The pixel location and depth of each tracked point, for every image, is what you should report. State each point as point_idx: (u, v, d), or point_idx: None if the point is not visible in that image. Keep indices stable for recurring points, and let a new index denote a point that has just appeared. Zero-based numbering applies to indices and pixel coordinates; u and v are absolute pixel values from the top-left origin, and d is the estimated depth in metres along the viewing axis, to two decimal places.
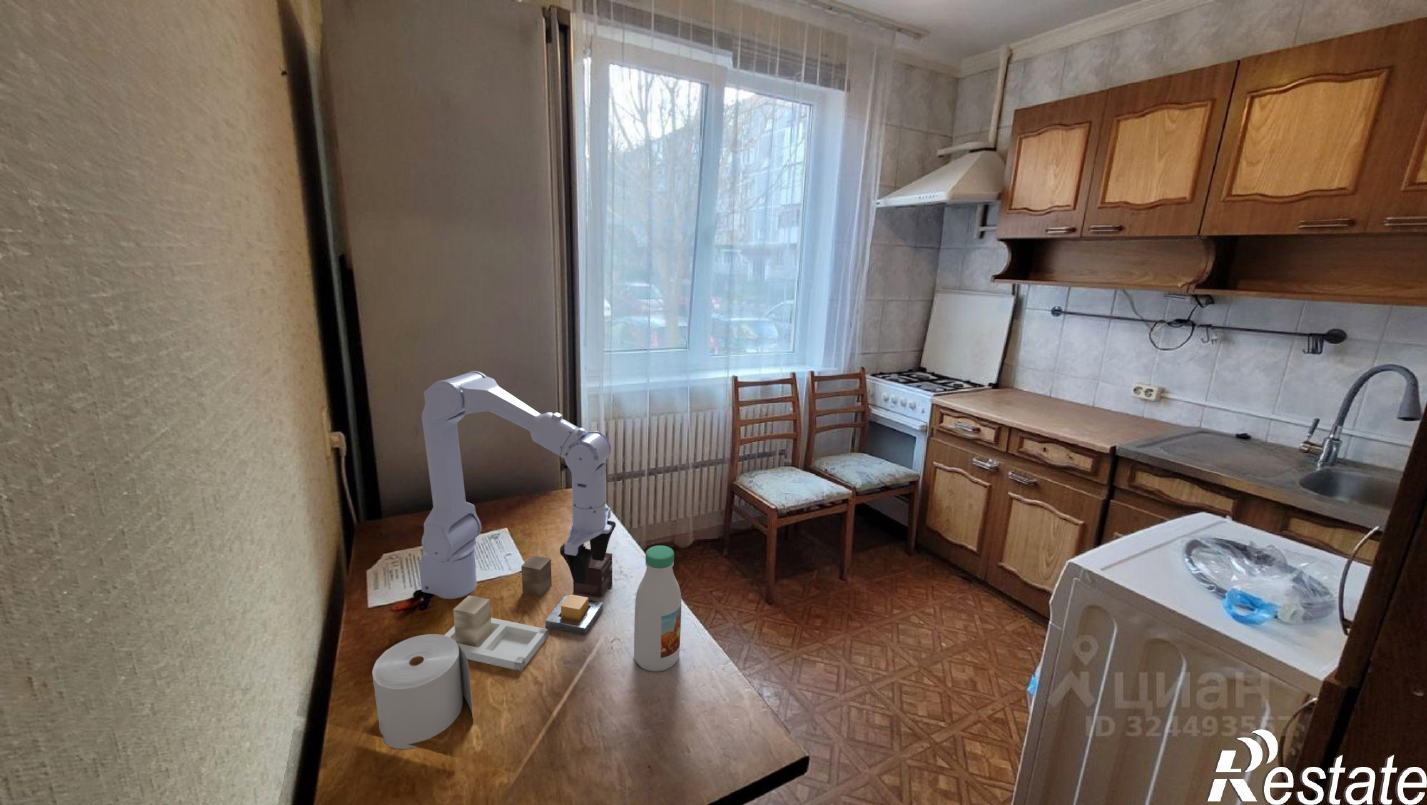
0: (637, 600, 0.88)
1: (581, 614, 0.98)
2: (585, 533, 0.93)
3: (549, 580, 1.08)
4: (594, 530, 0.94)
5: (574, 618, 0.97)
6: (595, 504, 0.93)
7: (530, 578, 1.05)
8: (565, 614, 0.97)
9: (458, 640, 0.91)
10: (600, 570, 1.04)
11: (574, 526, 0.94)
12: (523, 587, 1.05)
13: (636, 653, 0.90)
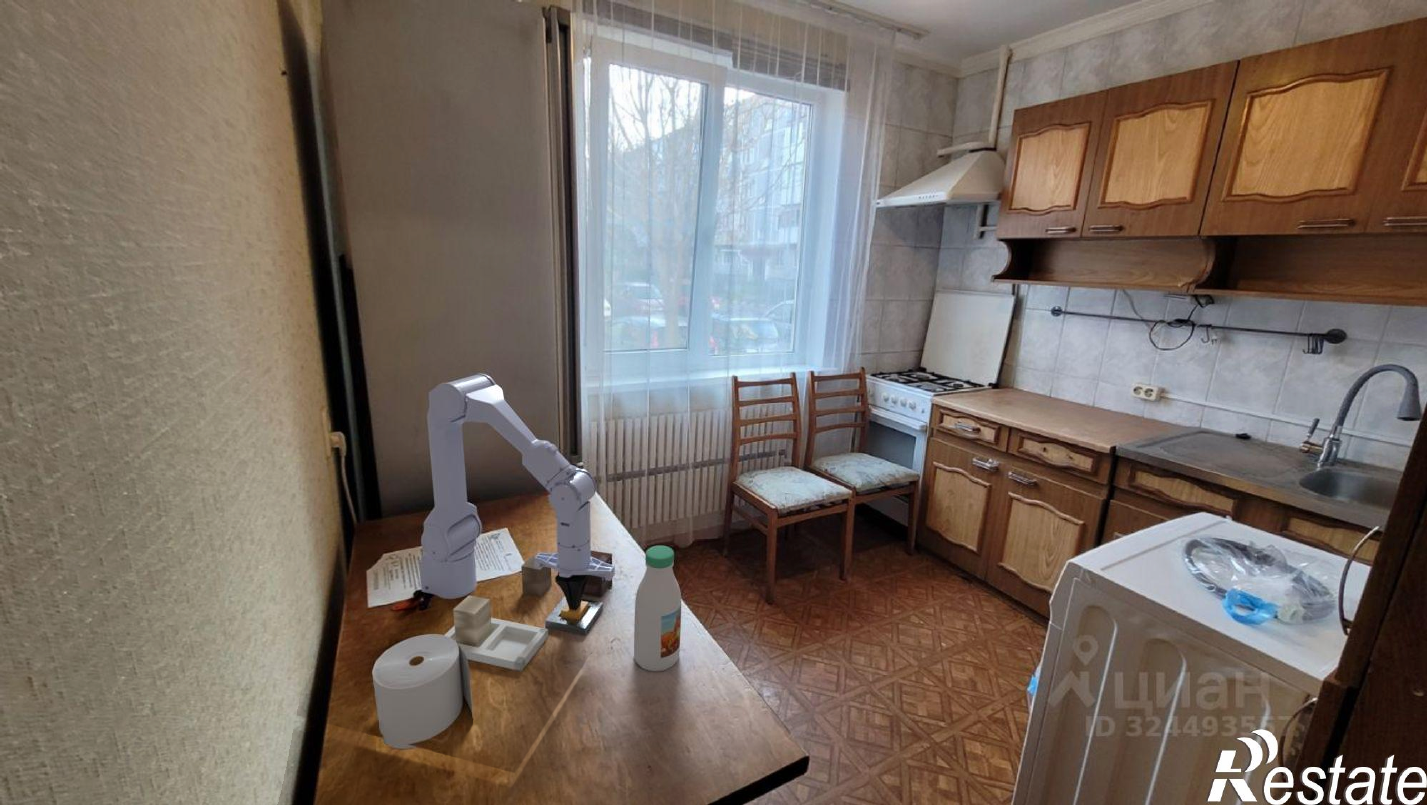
0: (637, 600, 0.88)
1: (581, 619, 0.98)
2: (557, 561, 0.96)
3: (549, 580, 1.08)
4: (558, 564, 0.95)
5: None
6: (578, 543, 0.93)
7: (530, 578, 1.05)
8: None
9: (458, 640, 0.91)
10: None
11: None
12: (523, 587, 1.05)
13: (636, 653, 0.90)
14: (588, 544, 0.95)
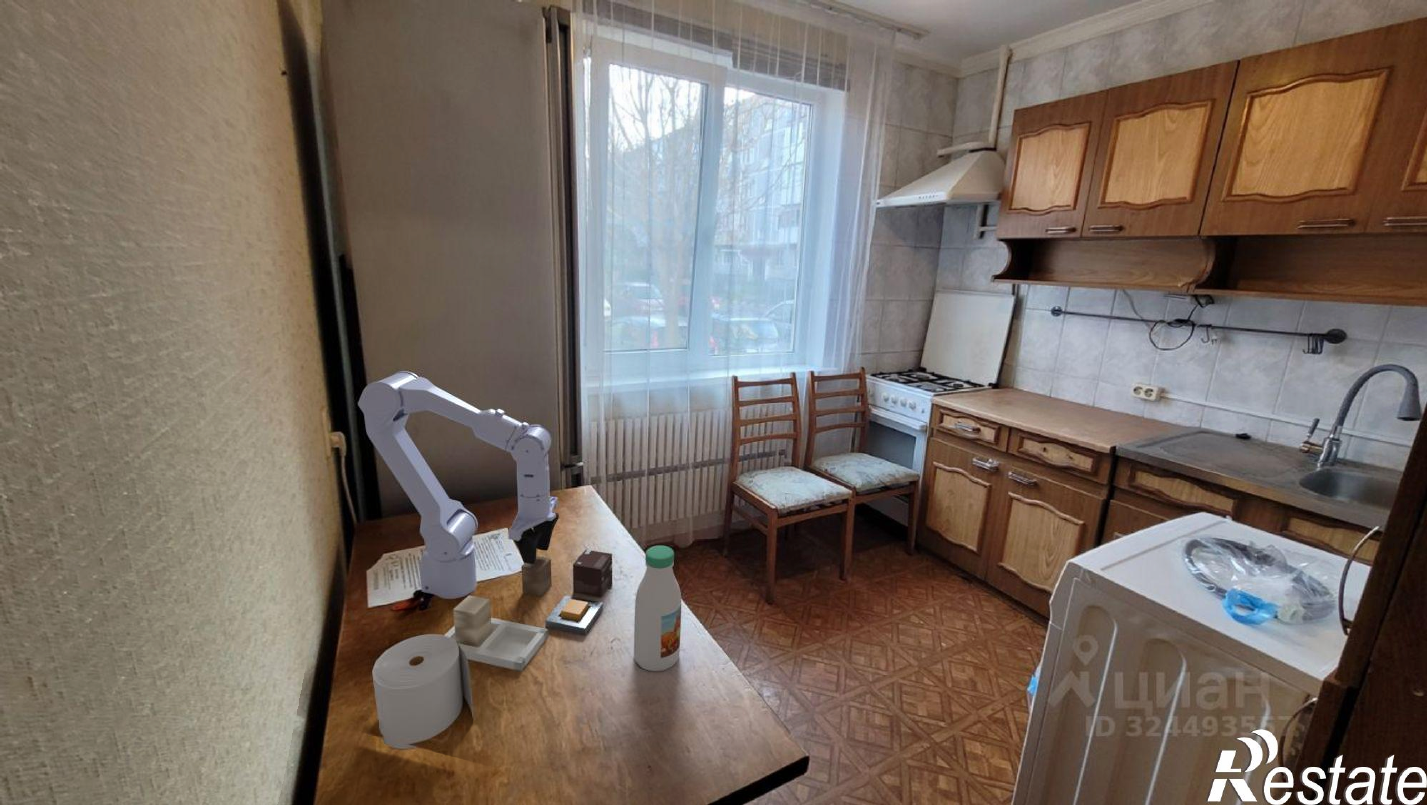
0: (637, 600, 0.88)
1: (581, 619, 0.98)
2: (529, 520, 1.00)
3: (549, 580, 1.08)
4: (538, 517, 1.01)
5: None
6: (542, 492, 1.00)
7: (530, 578, 1.05)
8: None
9: (458, 640, 0.91)
10: (600, 570, 1.04)
11: (519, 514, 1.01)
12: (523, 587, 1.05)
13: (636, 653, 0.90)
14: None
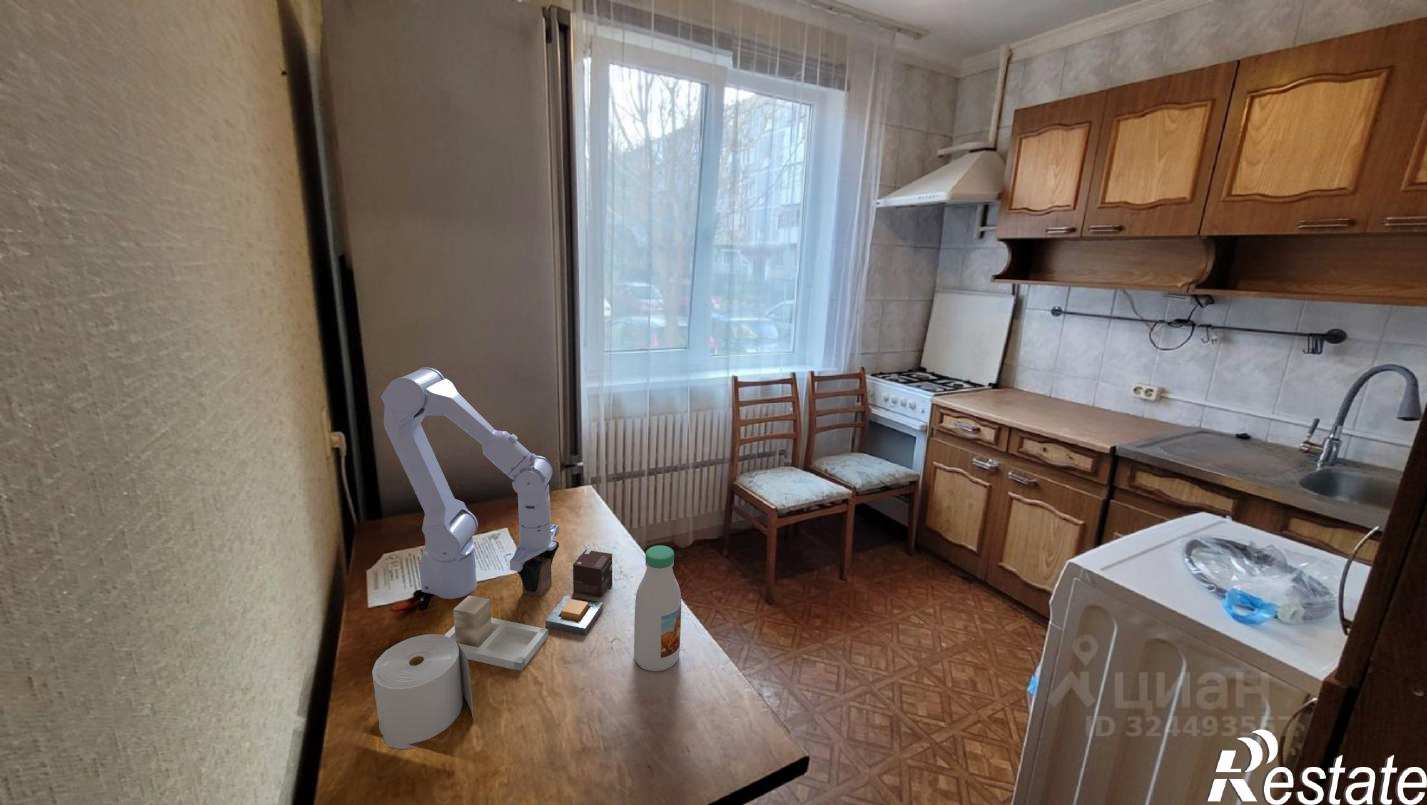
0: (637, 600, 0.88)
1: (581, 619, 0.98)
2: (530, 550, 1.02)
3: (549, 580, 1.08)
4: (539, 547, 1.02)
5: None
6: (543, 522, 1.02)
7: None
8: None
9: (458, 640, 0.91)
10: (600, 570, 1.04)
11: (521, 544, 1.03)
12: (523, 587, 1.05)
13: (636, 653, 0.90)
14: None
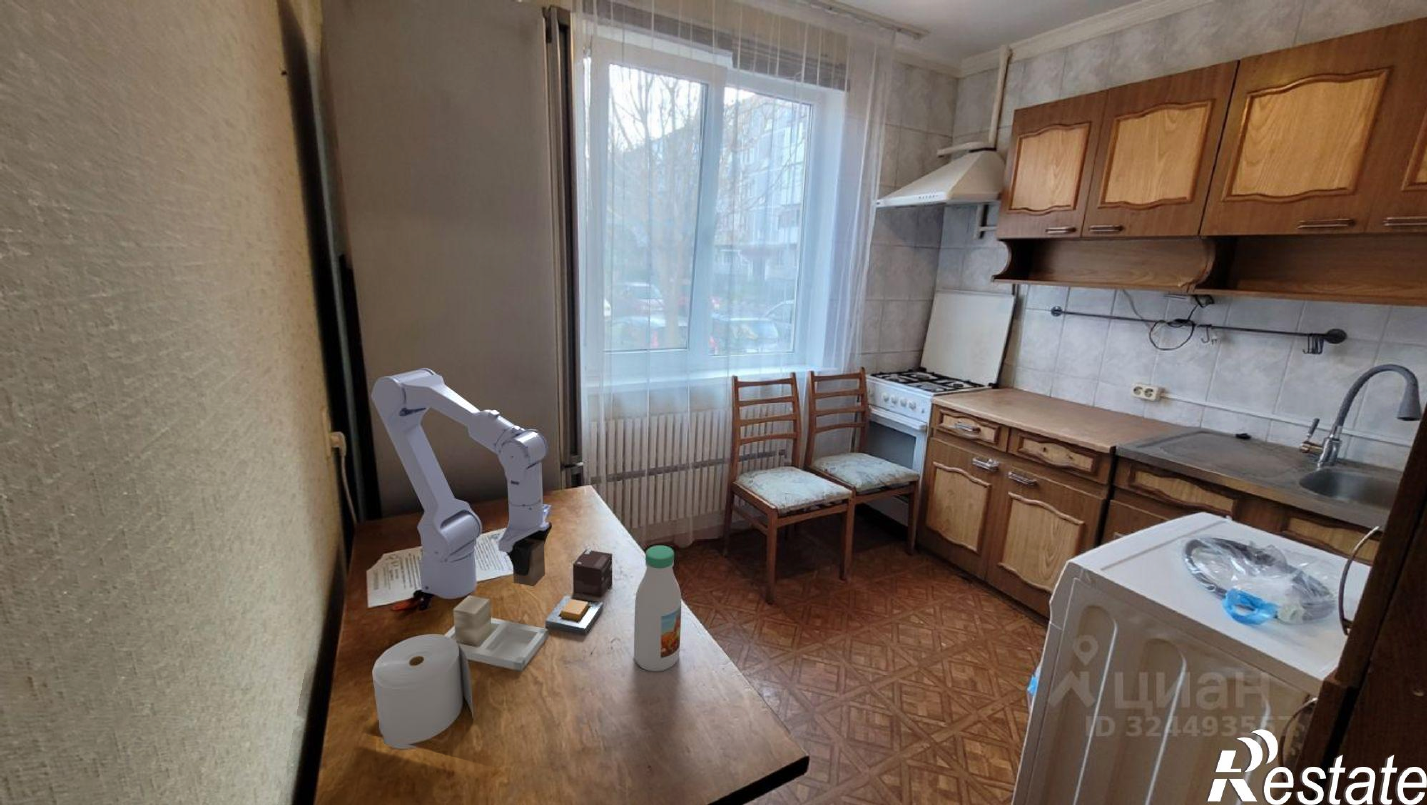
0: (637, 600, 0.88)
1: (581, 619, 0.98)
2: (521, 530, 0.94)
3: (542, 564, 1.00)
4: (530, 527, 0.95)
5: None
6: (529, 502, 0.94)
7: None
8: None
9: (458, 640, 0.91)
10: (600, 570, 1.04)
11: (510, 523, 0.95)
12: (514, 571, 0.98)
13: (636, 653, 0.90)
14: None
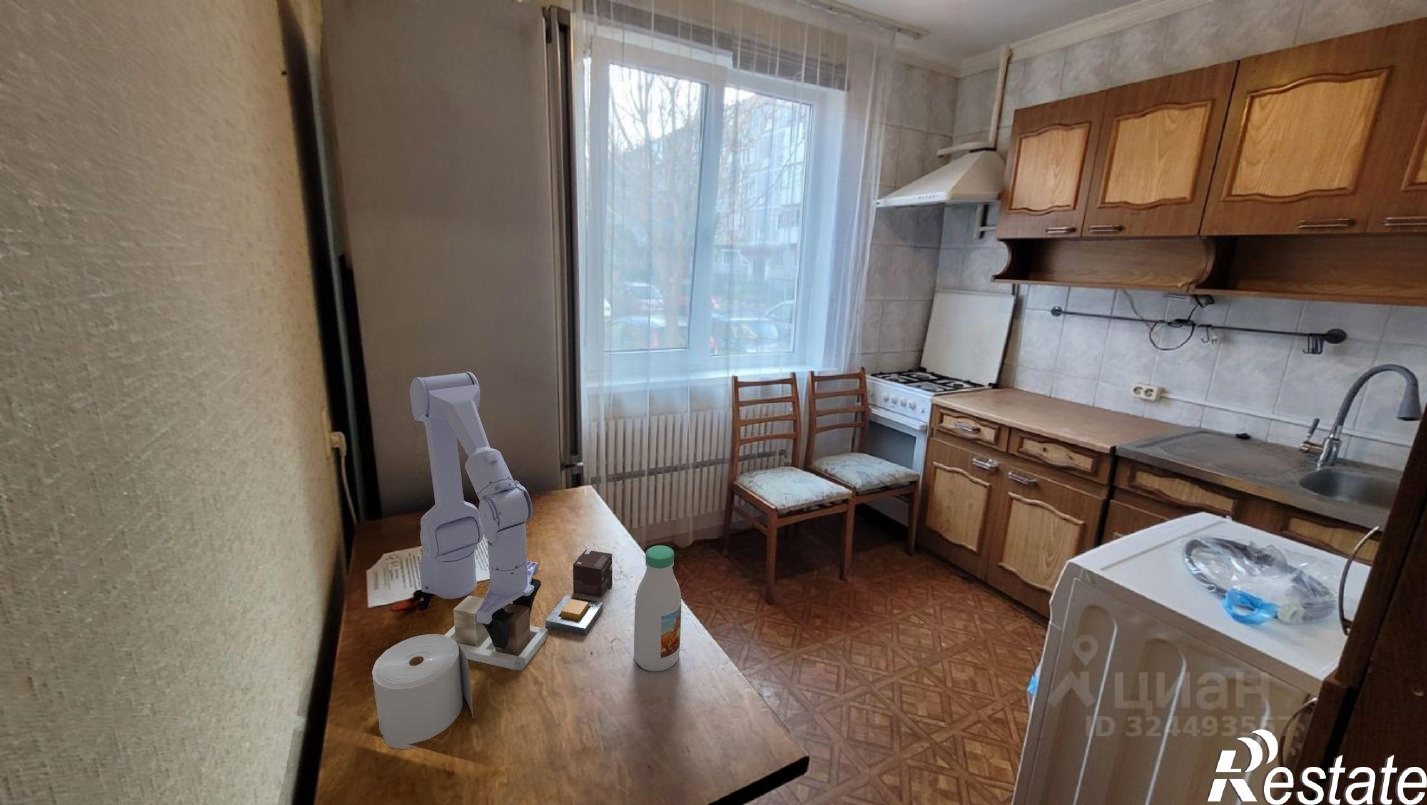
0: (637, 600, 0.88)
1: (581, 619, 0.98)
2: (502, 596, 0.85)
3: (527, 632, 0.91)
4: (513, 593, 0.86)
5: None
6: (502, 567, 0.84)
7: None
8: None
9: (458, 640, 0.91)
10: (600, 570, 1.04)
11: (491, 588, 0.86)
12: None
13: (636, 653, 0.90)
14: None
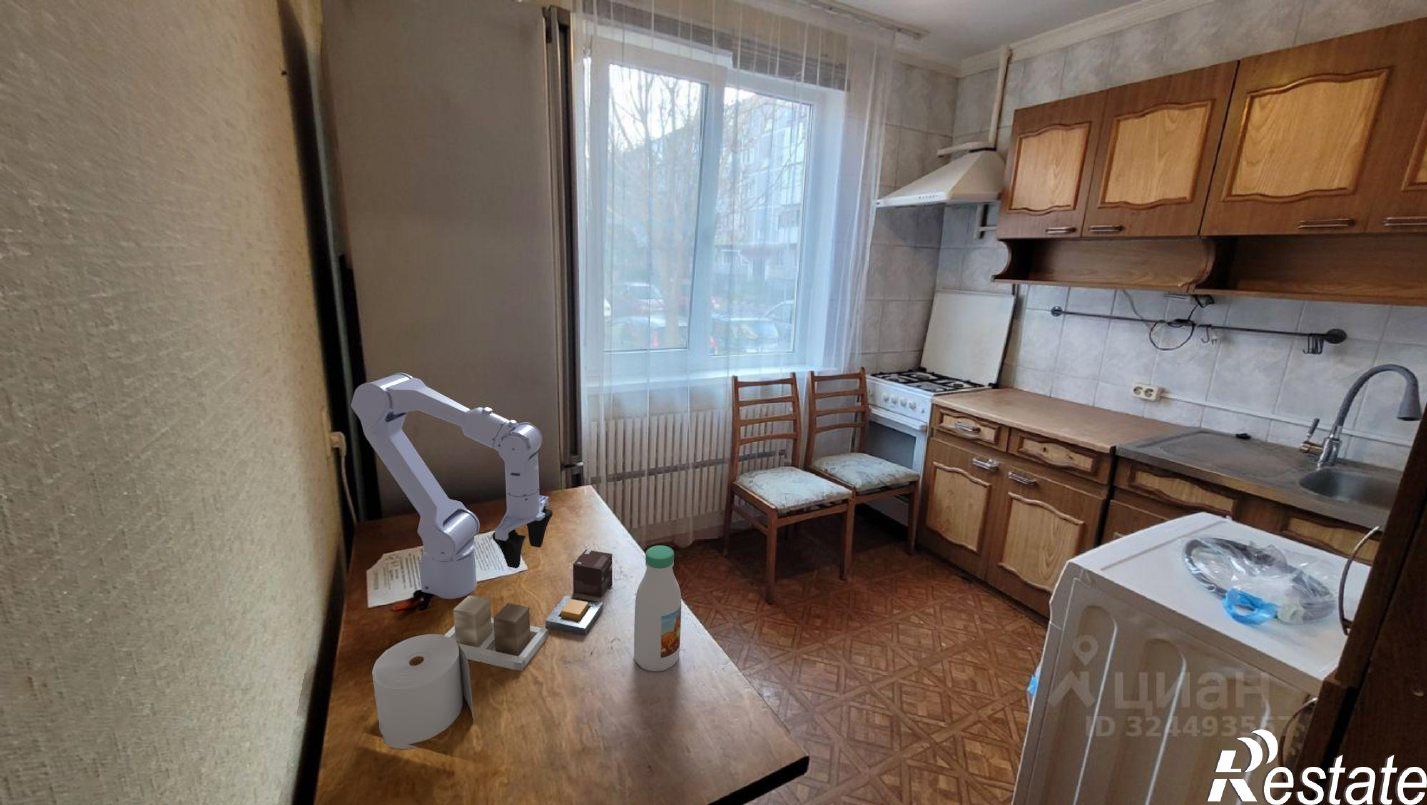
0: (637, 600, 0.88)
1: (581, 619, 0.98)
2: (517, 520, 0.98)
3: (527, 632, 0.91)
4: (526, 517, 0.99)
5: None
6: (529, 492, 0.98)
7: (503, 631, 0.88)
8: None
9: (458, 640, 0.91)
10: (600, 570, 1.04)
11: (508, 513, 0.99)
12: (496, 642, 0.89)
13: (636, 653, 0.90)
14: None
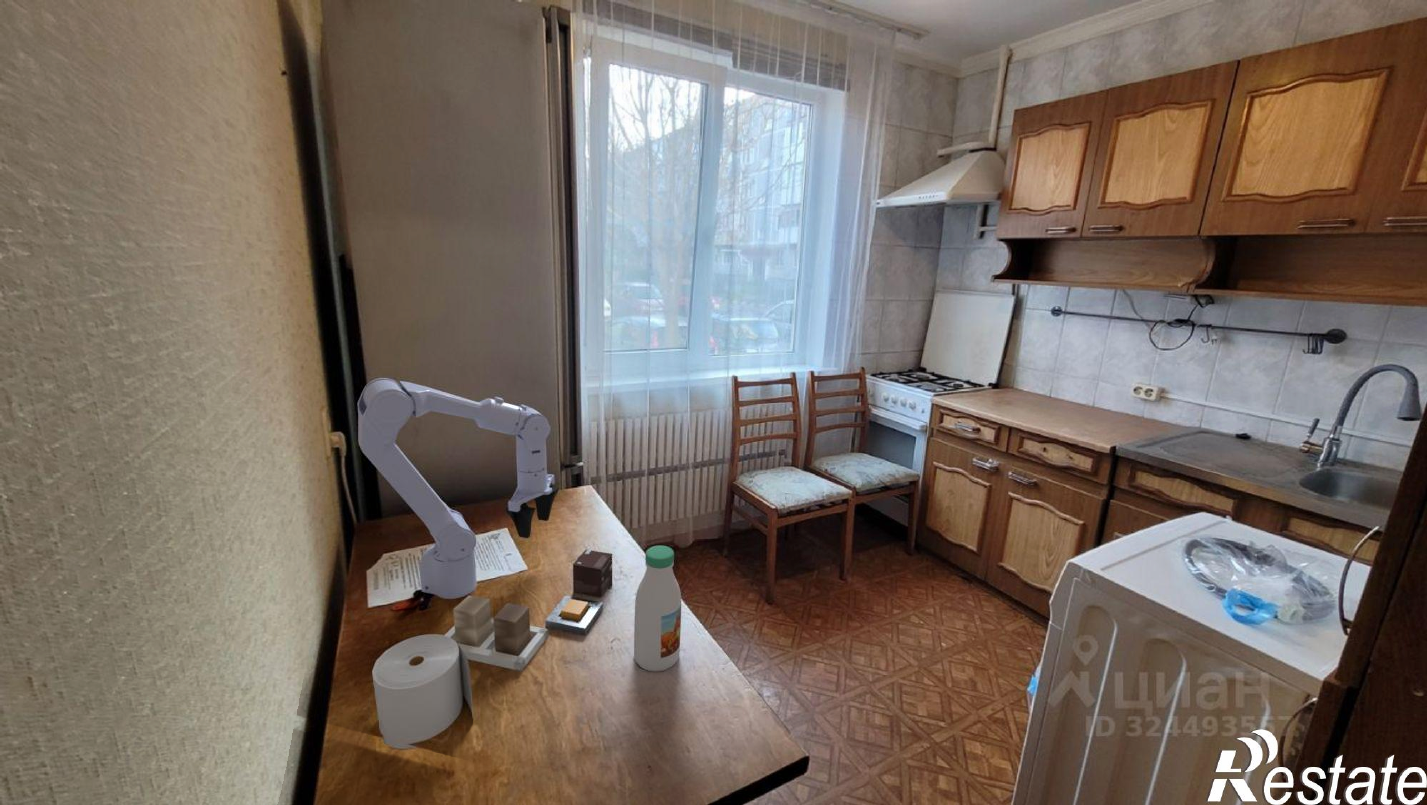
0: (637, 600, 0.88)
1: (581, 619, 0.98)
2: (528, 494, 1.08)
3: (527, 632, 0.91)
4: (536, 491, 1.09)
5: None
6: (545, 465, 1.10)
7: (503, 631, 0.88)
8: None
9: (458, 640, 0.91)
10: (600, 570, 1.04)
11: (519, 488, 1.09)
12: (496, 642, 0.89)
13: (636, 653, 0.90)
14: None
